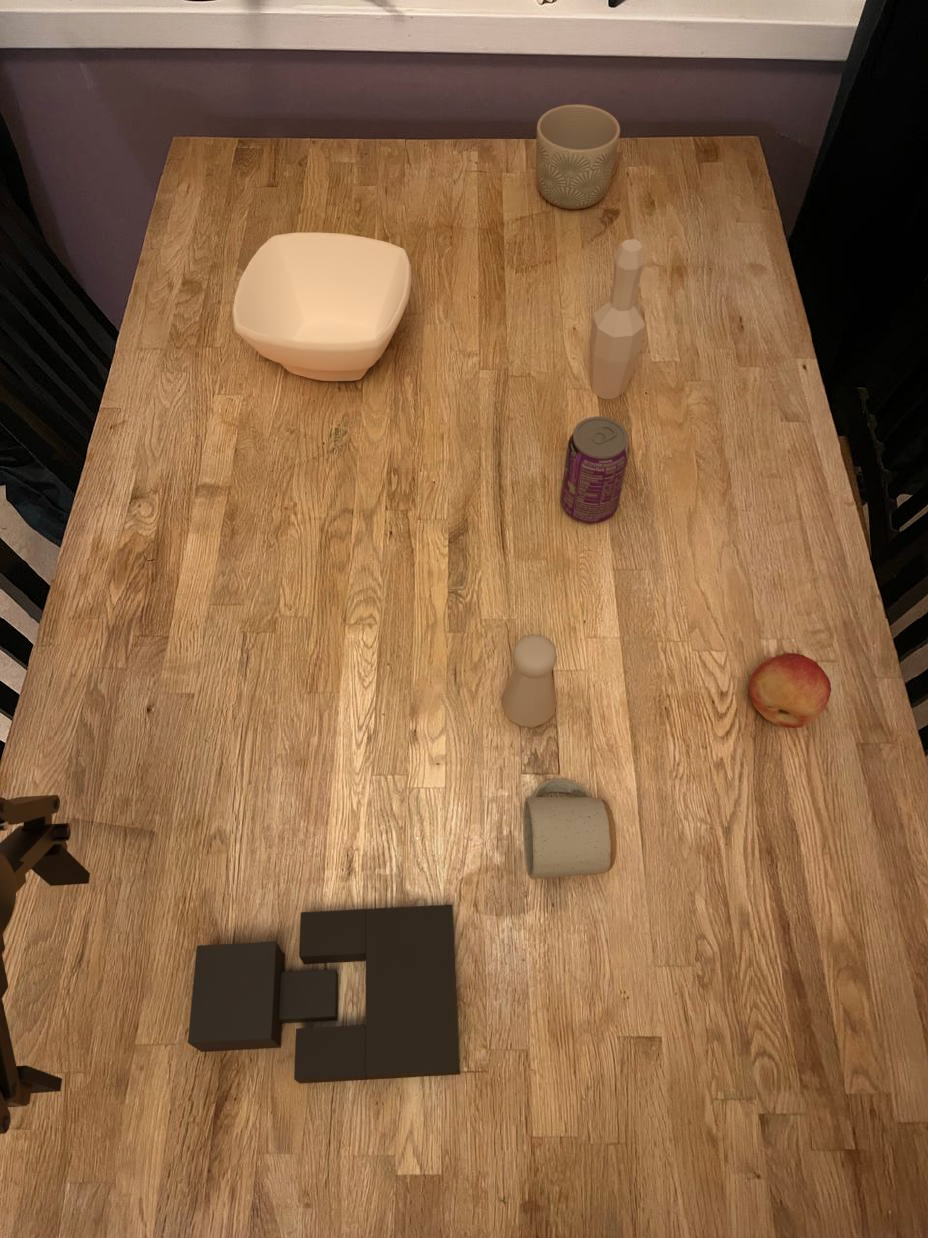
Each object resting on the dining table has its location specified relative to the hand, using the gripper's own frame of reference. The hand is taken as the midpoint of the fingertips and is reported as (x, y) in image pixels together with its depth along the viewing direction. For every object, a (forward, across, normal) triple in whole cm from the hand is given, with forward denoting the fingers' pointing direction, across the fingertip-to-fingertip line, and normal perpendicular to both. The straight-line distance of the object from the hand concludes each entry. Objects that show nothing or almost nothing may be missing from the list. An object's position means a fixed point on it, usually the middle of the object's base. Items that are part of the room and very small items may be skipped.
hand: (56, 977), depth 66 cm
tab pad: (+23, -2, +11) cm, 25 cm away
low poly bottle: (+22, -77, +54) cm, 97 cm away
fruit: (+22, -28, +65) cm, 74 cm away
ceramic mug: (+22, -15, +39) cm, 48 cm away
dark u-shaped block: (+22, -2, +21) cm, 31 cm away
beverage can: (+22, -57, +48) cm, 78 cm away
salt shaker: (+22, -29, +38) cm, 53 cm away
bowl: (+24, -86, +17) cm, 90 cm away
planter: (+23, -120, +55) cm, 134 cm away
